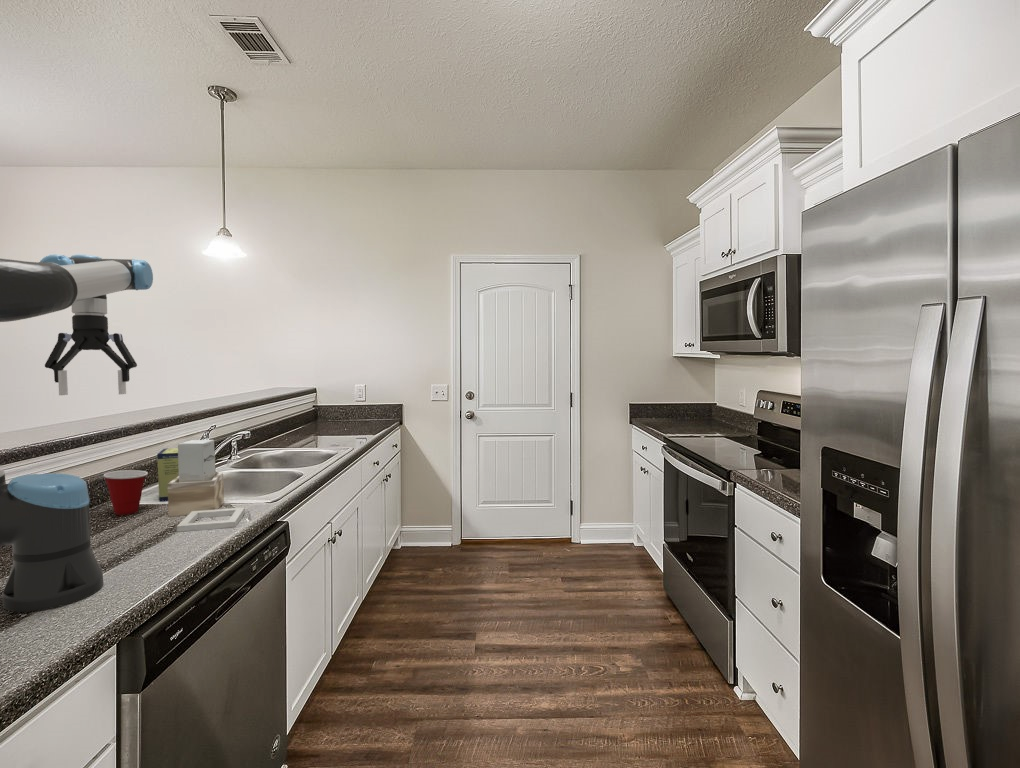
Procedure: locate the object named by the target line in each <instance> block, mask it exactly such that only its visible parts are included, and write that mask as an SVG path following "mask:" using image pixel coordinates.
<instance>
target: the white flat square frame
mask: <svg viewBox="0 0 1020 768" xmlns="http://www.w3.org/2000/svg"><path fill="white" fill-rule="evenodd" d="M245 512H246V507H232V508H219V509H217V510H203V511H192V512H191V513H190V514H189V515H186V516H185V517H184V519H182V521H181V522H180V523H178V524H177V526H176V532H177V533H179V532H181V533H182V532H192V531H193V532H194V531H204V530H205V531H207V530H217V529H229V528H236V526H237V525H238V524H239V522H240V520H241V519H242V518H243V516H244V515H245ZM227 516H230V517H229V519H227V520H214V521H203V522H202V521H201V522H195V521H196V520H197V519H201V518H202V519H203V518H212V517H213V518H214V517H215V518H216V517H227Z"/></svg>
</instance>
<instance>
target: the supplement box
mask: <svg viewBox="0 0 1020 768" xmlns="http://www.w3.org/2000/svg"><path fill="white" fill-rule="evenodd" d="M214 446H215V439H191V440H187V441H184V442H180V443H178V444H177V448H178V467H179V482H196V481H211V480H212V479H213V478H214V477H215V468H216V453H215V454H214Z"/></svg>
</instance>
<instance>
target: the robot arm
mask: <svg viewBox="0 0 1020 768" xmlns="http://www.w3.org/2000/svg"><path fill="white" fill-rule="evenodd" d="M153 280H154V274H153V269H152V267H151V265H150V264H149V263H148V261H146V260H143V259H134V258H132V259H130V258H129V259H128V258H127V259H125V258H124V259H122V258H121V259H120V258H102V257H99V256H94V255H87V254H73V255H71V256H70V257H68V256H66V255H61V254H60V255H59V254H49V255H46V256H44V257H43V258H42V259H40V261H39V262H38V261H37V262H36V261H25V260H24V261H23V260H16V259H7V258H0V323H9V322H14V321H15V322H16V321H21V320H27V319H31V318H35V317H40V316H43V315H44V316H45V315H48V314H52V313H55V312H59V311H63V310H66V309H68V308H70V307H71V312H72V314H74V315H73V316H71V322H72V323H71V324H72V327H71V329H72V333H71V334H70V333H67V332H59V333H58V335H57V341H56V344H55V345H54V347H53V348H52V351H51V353H50V354H49V356H48V358H47V360H46V361H45V364H44V367H45V368H46V369H51V370H53V374H54V380H53V381H54V383H55V384H56V383H58V396H67V395H68V394H69V392H68V371H67V370H66V369H65V368H66V367H67V365H68V364H69V363H71V361H72V360H74V358H75V357H76V356H77V355H78V354H79V353H80V352H82V351H91V350H92V351H102V352H104V354H105V355H106V356H107V357H109V358H110V359H111V360H112V361H113V362H114V363H115V364H116V365H117V366H118V368H120V369H119V370H117V384H118V385H117V389H118V395H126V394H127V382H130V370H131V369H134V368H137V366H138V364H137V362H136V360H135V358H134V357H133V355H132V354H131V352H130V351H129V349H128V347H127V346H126V343H124V338H123V335H122V333H118V332H115V333H113V334H109V320H108V319H109V318H108V317H107V316H106V315H107V314H108V300H107V299H108V297H107V295H110V294H115V293H117V292H123V291H131V290H132V291H134V290H135V291H140V290H141V291H142V290H143V291H144V290H145V291H146V290H150V288H151V287H152V285H153V282H154V281H153ZM71 340H72V341H73V342H74V344H72V345H71V347H70V348H69V350H68V351H67V352H66V353H64V355H63V356H62V354H63V352H64V351H65V348H67V345H68V343H69V342H70V341H71ZM109 340H110V341H112V342H114V344H115V347H116V348H117V349H118V351H119V353H120V354H121V356H122V357H123V358H121V356H119V355H118V354H117V352H115V351H114V350H113V348H112V346H111V345H109V343H108V342H109ZM61 356H62V357H61ZM6 481H7V480H6V473H5V471H4V470H3V469H1V468H0V547H5V546H11V548H12V565H11V568H10V571H9V574H8V577H7V580H6V583H5V585H4V588H3V590H2V596H1V597H2V608H3V609H5V610H7V611H9V612H15V613H16V612H17V613H18V612H22V613H23V612H26V613H27V612H37V611H42V610H48V609H54V608H59V607H61V606H65V605H69V604H71V603H74V602H78V601H80V600H83V599H85V598H87V597H89V596H92V595H93V594H95V593H96V592H98V591H99V590H101V589H102V587H103V586H104V573H103V571H102V569H101V567H100V565H99V562H98V561H97V559H96V556H95V555H94V552H93V551H92V547H91V546H92V545H91V521H90V501H91V500H90V496H89V490H88V489H89V488H88V484H87V482H86V481H85V480H84V479H83V478H81V477H79V476H78V475H73V474H68V473H53V472H50V473H48V472H47V473H40V474H39V473H38V474H37V473H33V474H32V473H31V474H26V475H19V476H16V477H14V478H12V479H10V480H9V483H7V482H6Z"/></svg>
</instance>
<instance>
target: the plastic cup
mask: <svg viewBox="0 0 1020 768" xmlns="http://www.w3.org/2000/svg"><path fill="white" fill-rule="evenodd" d="M148 474H149V472H148V471H145V470H137V469H128V470H127V469H126V470H124V469H123V470H114V471H109V472H108V471H107V472H105V473H104V474H103V477H104V479H105V483H106V486H107V489H108V494H109V497H110V501H111V504H112V509H113V512H114V514H115V515H117V516H123V515H124V516H125V515H130V514H131V515H132V514H135V513H138V512H139V509H140V504H141V499H142V493H143V487H144V483H145V480H146V478H147V476H148Z"/></svg>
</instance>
